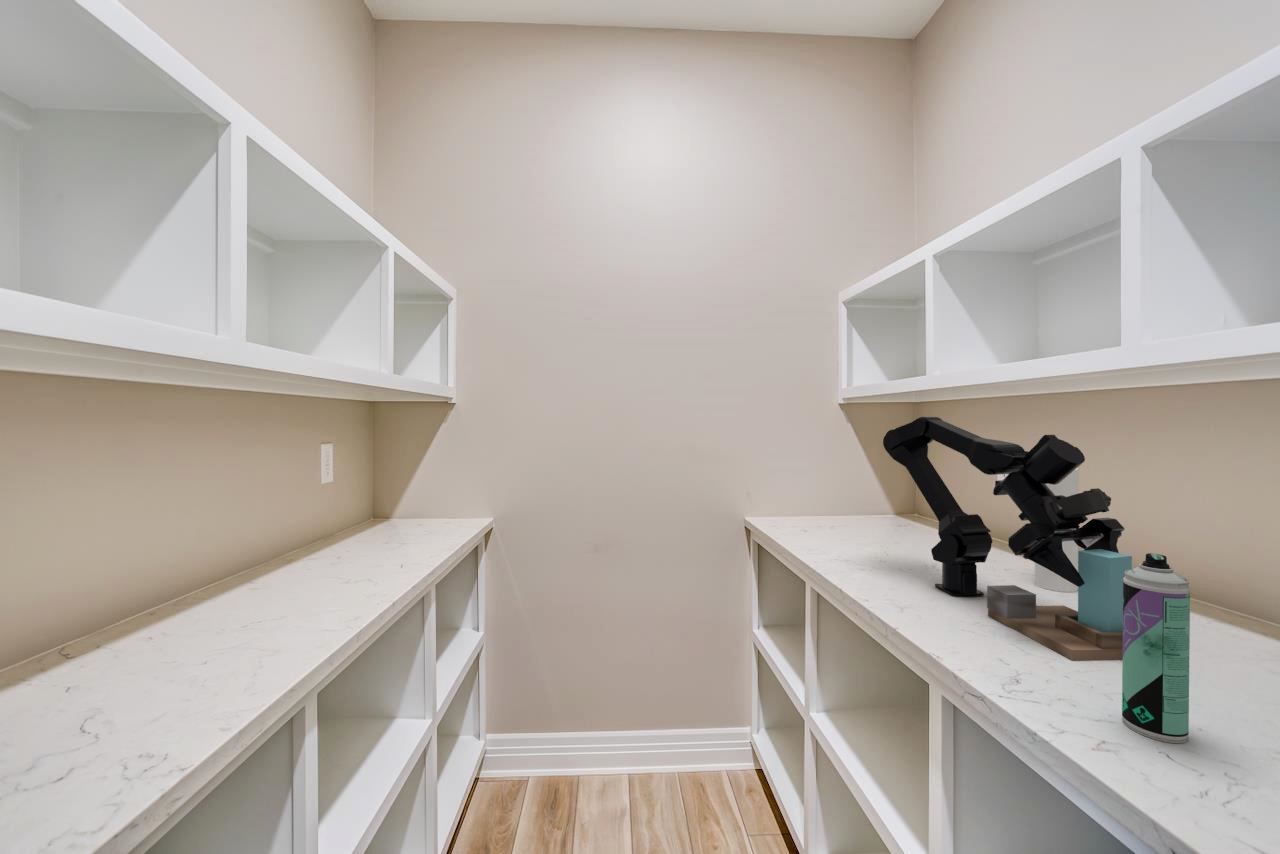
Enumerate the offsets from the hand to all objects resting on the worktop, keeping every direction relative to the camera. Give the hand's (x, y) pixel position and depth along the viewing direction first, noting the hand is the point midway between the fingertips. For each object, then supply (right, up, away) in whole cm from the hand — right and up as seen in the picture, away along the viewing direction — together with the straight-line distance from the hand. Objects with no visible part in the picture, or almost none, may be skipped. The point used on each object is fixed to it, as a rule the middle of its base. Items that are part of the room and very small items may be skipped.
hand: (1104, 582), depth 83 cm
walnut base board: (-2, -10, +5) cm, 11 cm away
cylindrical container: (+15, -10, +29) cm, 34 cm away
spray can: (-13, -11, -22) cm, 28 cm away
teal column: (0, -8, 0) cm, 8 cm away
